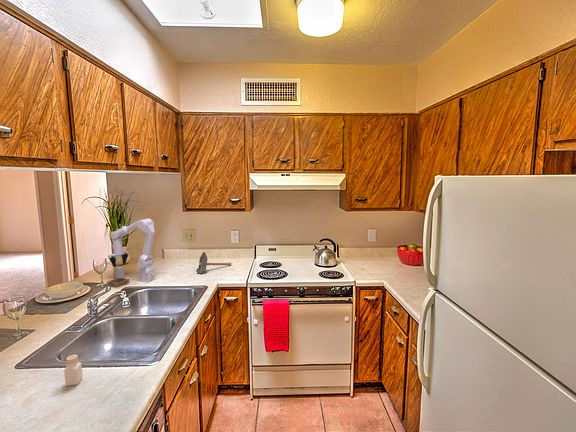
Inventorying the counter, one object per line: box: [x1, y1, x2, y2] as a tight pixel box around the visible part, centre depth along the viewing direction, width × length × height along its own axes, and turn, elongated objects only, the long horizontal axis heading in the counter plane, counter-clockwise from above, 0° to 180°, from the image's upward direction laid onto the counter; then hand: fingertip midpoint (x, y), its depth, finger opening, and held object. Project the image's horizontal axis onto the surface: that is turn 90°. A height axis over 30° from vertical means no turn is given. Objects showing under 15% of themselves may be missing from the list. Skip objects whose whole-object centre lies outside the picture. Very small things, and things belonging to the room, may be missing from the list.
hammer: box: [195, 251, 232, 275], centre depth 233 cm, size 6×16×30 cm
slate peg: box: [114, 266, 125, 279], centre depth 212 cm, size 4×4×8 cm
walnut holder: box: [106, 277, 130, 289], centre depth 200 cm, size 9×9×3 cm
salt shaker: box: [63, 354, 83, 387], centre depth 102 cm, size 4×4×10 cm
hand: (119, 265), depth 213 cm, fingers open, 7 cm apart
